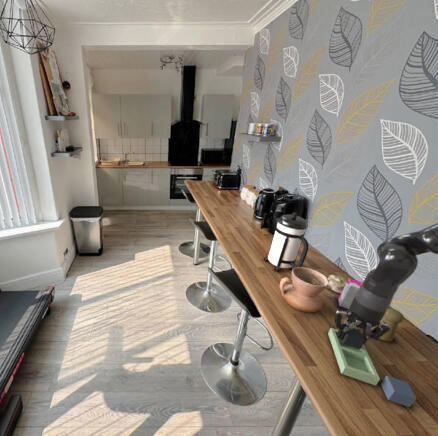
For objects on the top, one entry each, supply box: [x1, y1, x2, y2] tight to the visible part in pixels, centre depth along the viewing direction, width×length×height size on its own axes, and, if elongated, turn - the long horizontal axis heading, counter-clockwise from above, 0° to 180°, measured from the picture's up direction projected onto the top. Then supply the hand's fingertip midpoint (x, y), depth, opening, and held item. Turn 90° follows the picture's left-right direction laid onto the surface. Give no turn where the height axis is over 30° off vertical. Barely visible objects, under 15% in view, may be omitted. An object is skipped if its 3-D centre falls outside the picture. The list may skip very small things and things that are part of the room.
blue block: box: [380, 375, 417, 408], centre depth 66 cm, size 5×5×4 cm
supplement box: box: [337, 277, 364, 311], centre depth 96 cm, size 6×6×12 cm
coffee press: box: [263, 211, 309, 272], centre depth 117 cm, size 17×16×30 cm
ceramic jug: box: [279, 266, 332, 314], centre depth 96 cm, size 18×14×14 cm
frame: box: [327, 327, 381, 386], centre depth 76 cm, size 8×16×3 cm, turn 157°
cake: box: [326, 274, 348, 294], centre depth 108 cm, size 10×10×5 cm
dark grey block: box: [342, 327, 365, 349], centre depth 78 cm, size 5×5×4 cm
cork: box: [371, 307, 405, 342], centre depth 83 cm, size 6×6×11 cm
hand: (349, 340), depth 78 cm, fingers closed on dark grey block, 4 cm apart
